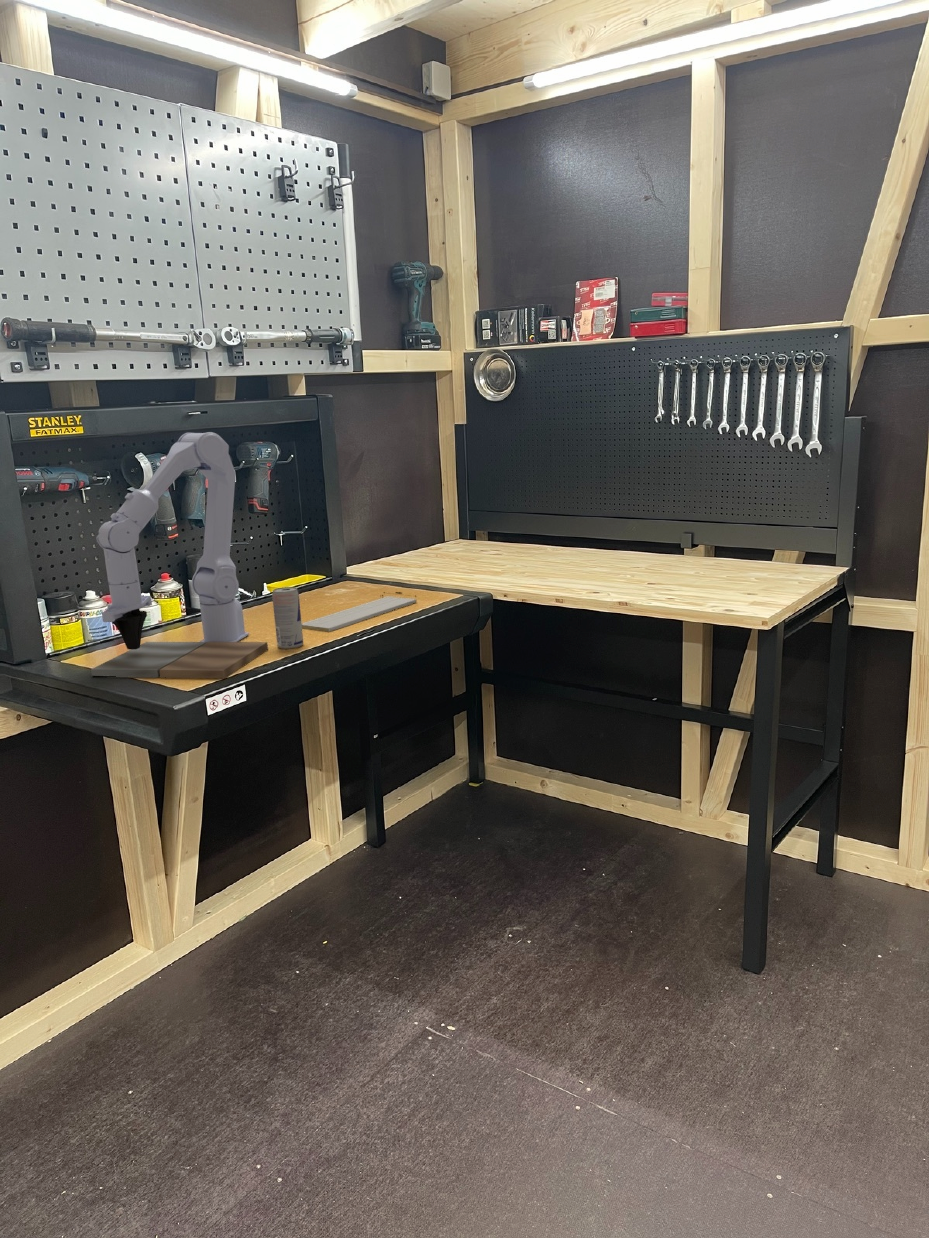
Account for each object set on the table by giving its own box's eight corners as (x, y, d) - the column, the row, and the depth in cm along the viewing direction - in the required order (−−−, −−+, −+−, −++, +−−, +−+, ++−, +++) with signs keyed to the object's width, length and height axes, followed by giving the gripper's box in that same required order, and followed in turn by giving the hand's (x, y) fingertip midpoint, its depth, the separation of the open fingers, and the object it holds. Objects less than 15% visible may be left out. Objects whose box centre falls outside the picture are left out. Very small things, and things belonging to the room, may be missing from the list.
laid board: (210, 649, 192) (209, 641, 192) (268, 649, 190) (267, 642, 189) (160, 677, 174) (159, 669, 173) (224, 678, 171) (223, 670, 170)
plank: (147, 648, 196) (146, 641, 195) (208, 648, 193) (207, 641, 192) (92, 676, 177) (90, 669, 176) (158, 677, 174) (157, 669, 173)
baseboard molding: (290, 629, 209) (329, 635, 202) (289, 616, 208) (328, 622, 201) (379, 601, 233) (417, 605, 226) (379, 589, 232) (416, 593, 225)
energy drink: (305, 641, 194) (299, 586, 192) (301, 648, 189) (296, 591, 186) (279, 643, 194) (274, 587, 192) (275, 649, 189) (269, 592, 186)
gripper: (126, 575, 189) (135, 638, 193) (83, 590, 176) (94, 658, 179) (157, 574, 188) (166, 638, 191) (117, 589, 174) (127, 658, 177)
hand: (133, 648), depth 185 cm, fingers closed
